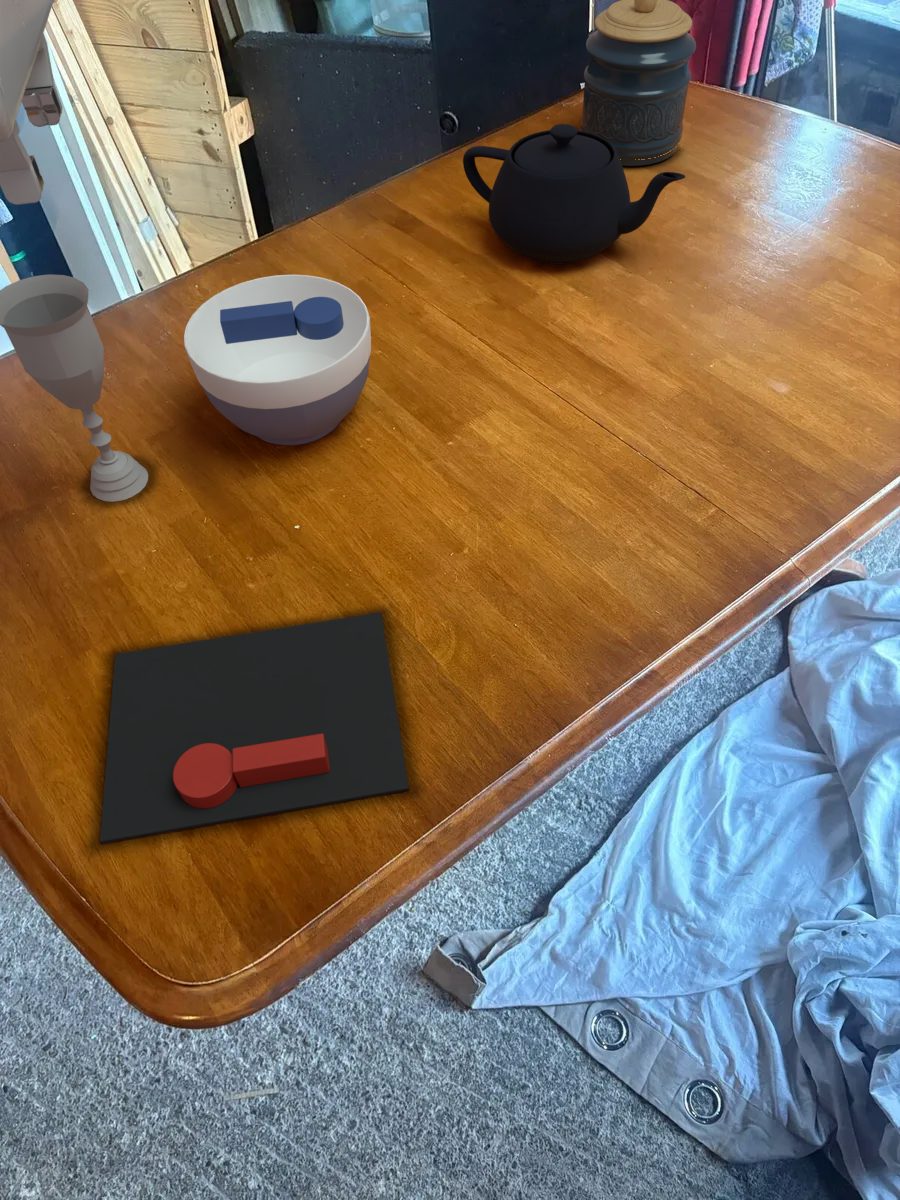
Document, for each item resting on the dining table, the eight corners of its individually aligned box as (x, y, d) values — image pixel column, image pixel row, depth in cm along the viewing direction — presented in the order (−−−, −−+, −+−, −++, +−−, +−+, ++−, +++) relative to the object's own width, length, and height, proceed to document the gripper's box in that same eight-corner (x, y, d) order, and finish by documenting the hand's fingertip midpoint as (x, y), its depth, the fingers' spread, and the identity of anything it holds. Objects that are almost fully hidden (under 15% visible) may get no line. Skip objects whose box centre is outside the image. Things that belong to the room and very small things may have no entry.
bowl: (299, 496, 77) (278, 408, 69) (175, 427, 83) (144, 339, 76) (414, 399, 84) (407, 310, 77) (293, 343, 91) (275, 255, 83)
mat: (101, 844, 57) (99, 841, 57) (116, 656, 66) (114, 653, 66) (409, 790, 59) (408, 788, 58) (381, 615, 68) (381, 611, 68)
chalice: (174, 462, 80) (106, 280, 66) (137, 515, 76) (57, 333, 62) (101, 449, 81) (20, 269, 67) (62, 501, 77) (-33, 320, 63)
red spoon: (326, 735, 61) (322, 718, 59) (331, 787, 59) (327, 771, 57) (179, 759, 60) (170, 743, 59) (178, 813, 58) (169, 798, 56)
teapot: (435, 251, 101) (429, 139, 91) (494, 189, 109) (494, 81, 100) (646, 301, 93) (663, 185, 83) (692, 231, 101) (712, 118, 92)
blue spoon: (226, 352, 74) (219, 329, 72) (225, 324, 76) (219, 302, 75) (345, 336, 75) (342, 313, 73) (341, 310, 77) (338, 287, 75)
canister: (628, 114, 121) (645, -40, 107) (701, 146, 114) (729, -14, 101) (557, 144, 116) (566, -14, 103) (629, 179, 110) (649, 16, 96)
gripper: (-108, -203, 45) (7, 88, 56) (-232, -93, 33) (-52, 257, 43) (19, -214, 46) (109, 77, 57) (-55, -109, 33) (79, 241, 44)
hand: (39, 157), depth 50 cm, fingers open, 8 cm apart
